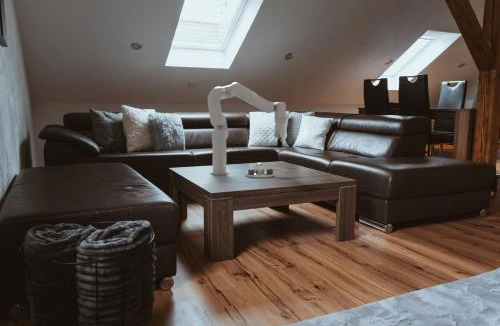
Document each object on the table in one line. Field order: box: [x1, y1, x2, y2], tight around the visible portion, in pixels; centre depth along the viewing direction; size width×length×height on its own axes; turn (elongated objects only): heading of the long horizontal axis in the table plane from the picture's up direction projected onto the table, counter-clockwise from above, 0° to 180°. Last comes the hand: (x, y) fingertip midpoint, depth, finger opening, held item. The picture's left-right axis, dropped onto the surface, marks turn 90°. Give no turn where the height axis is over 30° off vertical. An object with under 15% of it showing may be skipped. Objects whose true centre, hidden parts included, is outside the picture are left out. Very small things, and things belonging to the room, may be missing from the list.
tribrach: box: [244, 162, 275, 179], centre depth 277 cm, size 20×20×9 cm
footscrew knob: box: [266, 167, 288, 174], centre depth 273 cm, size 14×4×4 cm, turn 72°
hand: (279, 147), depth 276 cm, fingers closed
